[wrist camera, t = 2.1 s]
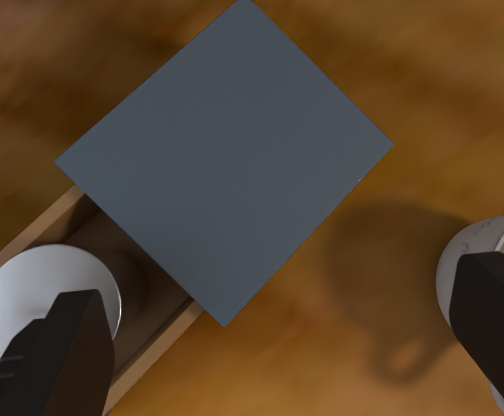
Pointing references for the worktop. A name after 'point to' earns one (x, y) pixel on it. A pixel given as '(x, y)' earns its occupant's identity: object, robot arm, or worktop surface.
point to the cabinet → (227, 158)
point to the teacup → (465, 242)
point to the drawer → (160, 283)
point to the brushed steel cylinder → (69, 285)
